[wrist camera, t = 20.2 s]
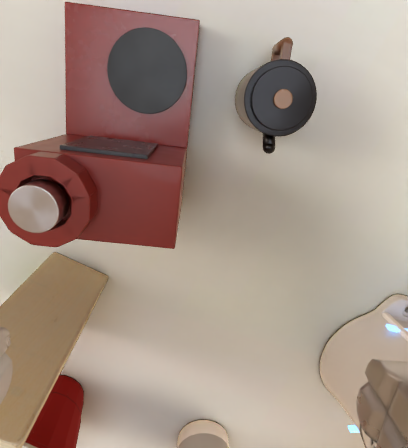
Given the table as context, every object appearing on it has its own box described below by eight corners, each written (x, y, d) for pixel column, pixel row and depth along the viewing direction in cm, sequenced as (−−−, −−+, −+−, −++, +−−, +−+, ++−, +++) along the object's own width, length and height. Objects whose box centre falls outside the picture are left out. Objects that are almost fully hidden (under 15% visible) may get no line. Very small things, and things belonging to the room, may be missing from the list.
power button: (68, 181, 22) (58, 188, 21) (69, 226, 23) (59, 235, 22) (20, 176, 22) (5, 182, 20) (22, 221, 23) (8, 230, 21)
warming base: (199, 26, 32) (200, -11, 21) (187, 144, 35) (183, 163, 25) (74, 9, 31) (12, -38, 21) (74, 131, 34) (22, 145, 24)
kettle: (302, 52, 32) (334, 37, 25) (284, 148, 35) (308, 161, 28) (242, 44, 32) (255, 26, 25) (228, 141, 35) (237, 153, 27)
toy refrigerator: (47, 246, 38) (-114, 401, 18) (110, 274, 40) (23, 449, 20) (23, 302, 41) (-144, 496, 21) (83, 328, 42) (-20, 533, 22)
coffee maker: (187, 144, 35) (181, 171, 22) (181, 202, 37) (173, 259, 24) (70, 131, 34) (-10, 150, 21) (70, 190, 36) (-2, 242, 23)
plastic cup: (22, 347, 43) (-42, 437, 31) (110, 368, 44) (80, 462, 32) (10, 414, 46) (-51, 516, 35) (93, 431, 47) (59, 536, 36)
